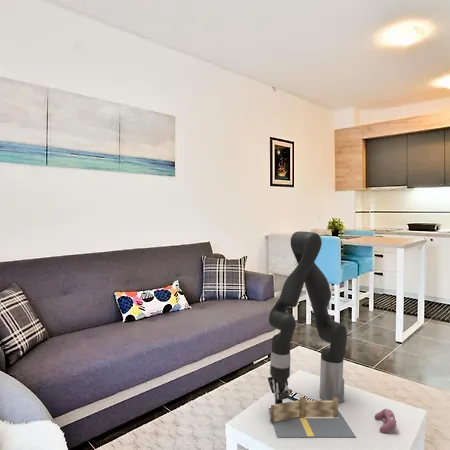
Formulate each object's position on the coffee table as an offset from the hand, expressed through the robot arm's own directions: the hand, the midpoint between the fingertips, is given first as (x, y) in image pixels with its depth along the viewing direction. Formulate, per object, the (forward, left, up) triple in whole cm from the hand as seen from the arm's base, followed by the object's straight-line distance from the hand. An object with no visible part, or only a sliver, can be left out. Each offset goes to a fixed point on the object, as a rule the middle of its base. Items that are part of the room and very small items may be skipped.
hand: (278, 407), depth 138 cm
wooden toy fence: (-16, 0, -4) cm, 16 cm away
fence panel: (-2, +2, -3) cm, 5 cm away
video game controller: (-39, +6, -5) cm, 40 cm away
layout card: (-11, +3, -4) cm, 12 cm away
